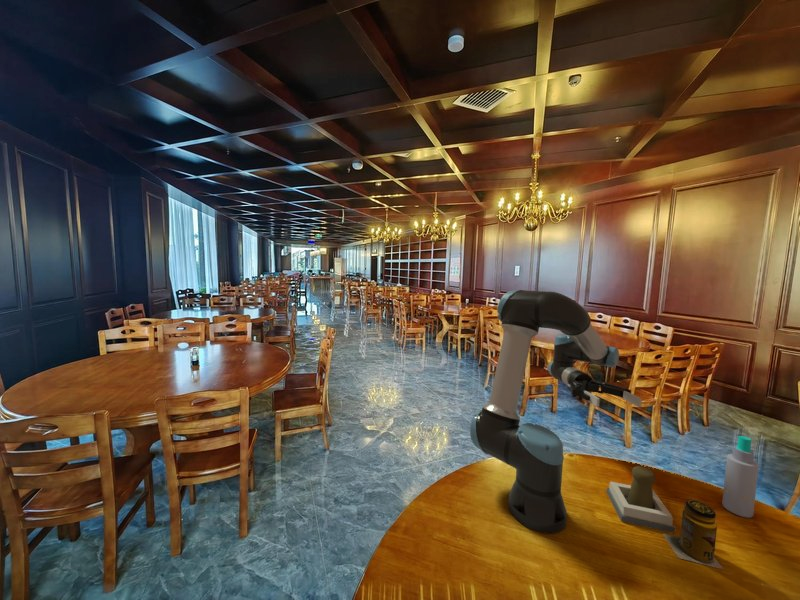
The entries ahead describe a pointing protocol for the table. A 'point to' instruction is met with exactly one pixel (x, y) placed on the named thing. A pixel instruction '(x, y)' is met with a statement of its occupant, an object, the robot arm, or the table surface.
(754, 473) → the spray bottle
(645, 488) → the cork
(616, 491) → the collar holder
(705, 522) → the condiment
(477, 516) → the table surface
